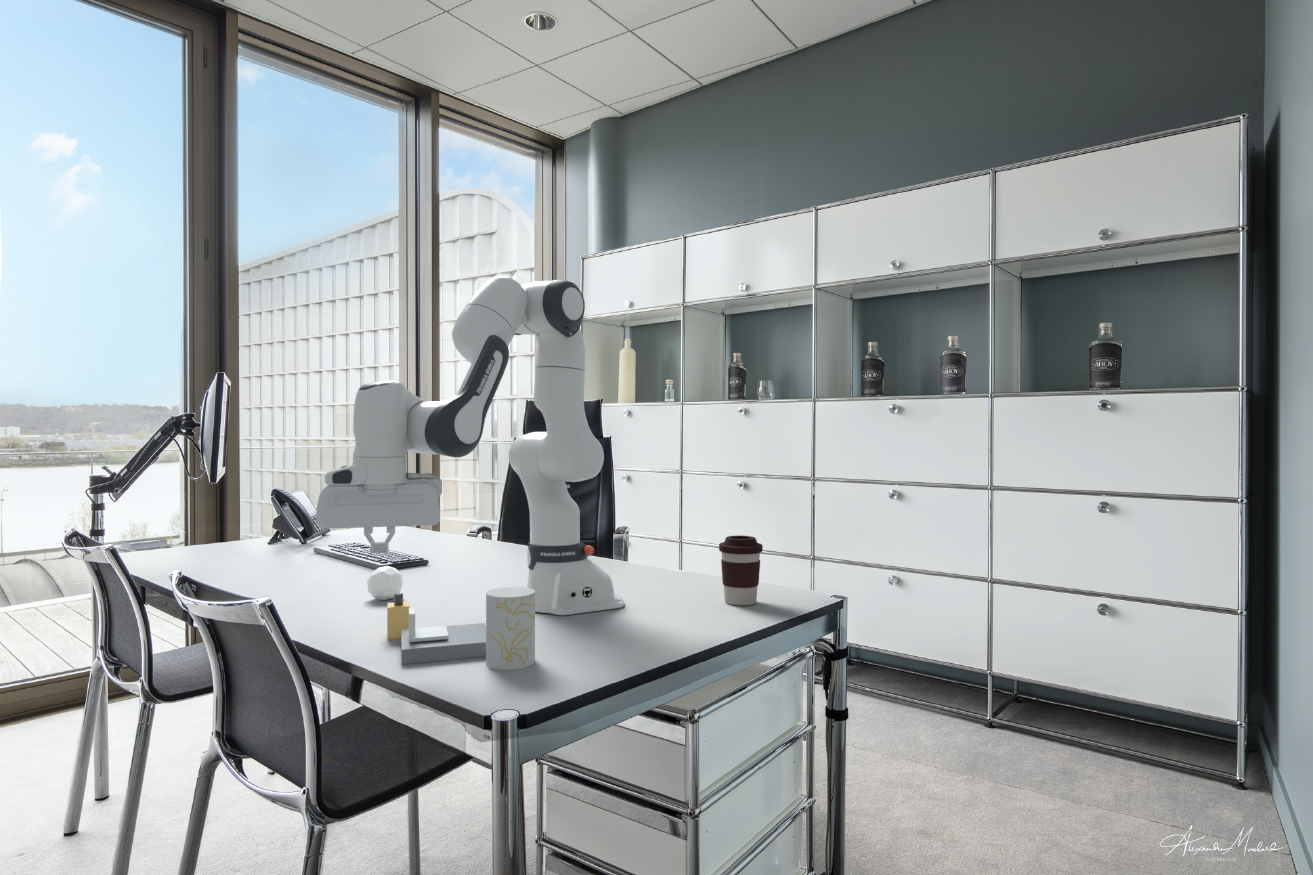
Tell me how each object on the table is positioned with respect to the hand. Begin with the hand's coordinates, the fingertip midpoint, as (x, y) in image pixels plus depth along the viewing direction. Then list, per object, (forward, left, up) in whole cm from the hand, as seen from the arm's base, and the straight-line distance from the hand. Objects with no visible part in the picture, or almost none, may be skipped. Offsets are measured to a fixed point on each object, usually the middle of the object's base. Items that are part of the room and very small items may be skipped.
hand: (379, 552), depth 129 cm
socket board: (-11, 0, -18) cm, 21 cm away
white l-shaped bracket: (-8, 0, -15) cm, 17 cm away
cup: (-21, +11, -18) cm, 30 cm away
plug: (-3, -12, -18) cm, 22 cm away
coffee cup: (-77, -16, -18) cm, 81 cm away
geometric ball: (0, -45, -18) cm, 49 cm away
